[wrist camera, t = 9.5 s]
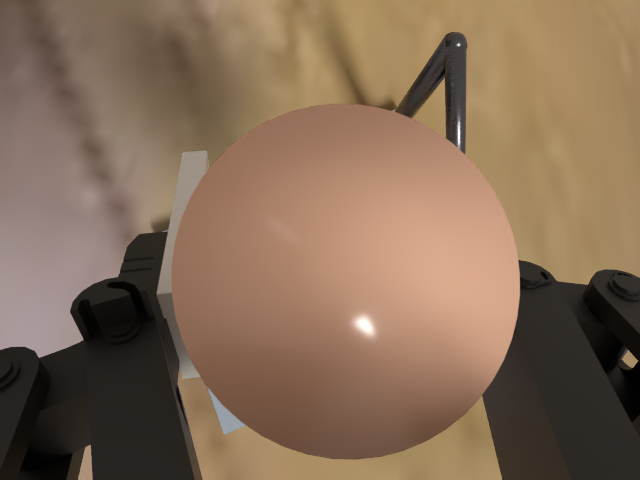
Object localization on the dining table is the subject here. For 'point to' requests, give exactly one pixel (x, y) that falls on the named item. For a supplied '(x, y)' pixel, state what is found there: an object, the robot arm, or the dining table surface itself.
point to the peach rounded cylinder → (345, 281)
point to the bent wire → (452, 68)
